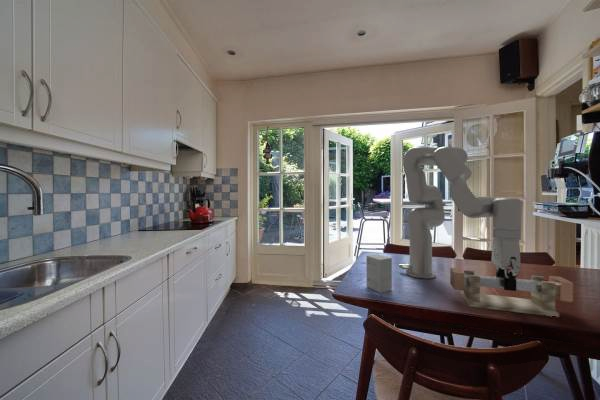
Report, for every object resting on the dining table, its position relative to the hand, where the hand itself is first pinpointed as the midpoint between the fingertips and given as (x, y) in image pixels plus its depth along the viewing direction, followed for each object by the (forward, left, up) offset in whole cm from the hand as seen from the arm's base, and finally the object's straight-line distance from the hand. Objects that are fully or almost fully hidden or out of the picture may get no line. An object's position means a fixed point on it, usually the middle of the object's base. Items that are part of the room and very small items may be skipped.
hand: (505, 286), depth 85 cm
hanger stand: (0, 0, -6) cm, 6 cm away
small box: (-41, +2, -7) cm, 42 cm away
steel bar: (0, 0, -2) cm, 2 cm away
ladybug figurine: (+23, +24, -7) cm, 34 cm away
